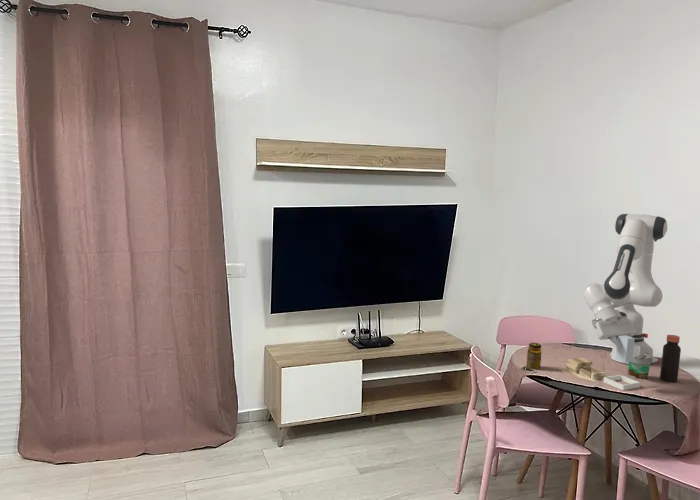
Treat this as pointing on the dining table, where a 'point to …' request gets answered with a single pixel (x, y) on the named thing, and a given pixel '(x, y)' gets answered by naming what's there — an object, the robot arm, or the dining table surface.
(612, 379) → the white square frame
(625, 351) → the light blue block
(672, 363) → the bottle
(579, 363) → the offcut stack
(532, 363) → the condiment
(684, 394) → the dining table surface
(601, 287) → the robot arm
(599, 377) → the rack
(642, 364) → the food container
